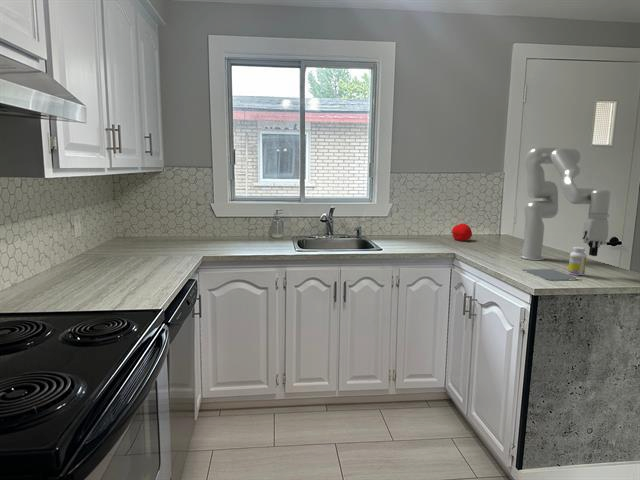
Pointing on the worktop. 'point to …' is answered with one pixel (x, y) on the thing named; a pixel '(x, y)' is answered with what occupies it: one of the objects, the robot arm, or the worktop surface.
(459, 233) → the tomato
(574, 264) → the supplement bottle
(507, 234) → the worktop surface
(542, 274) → the mat
